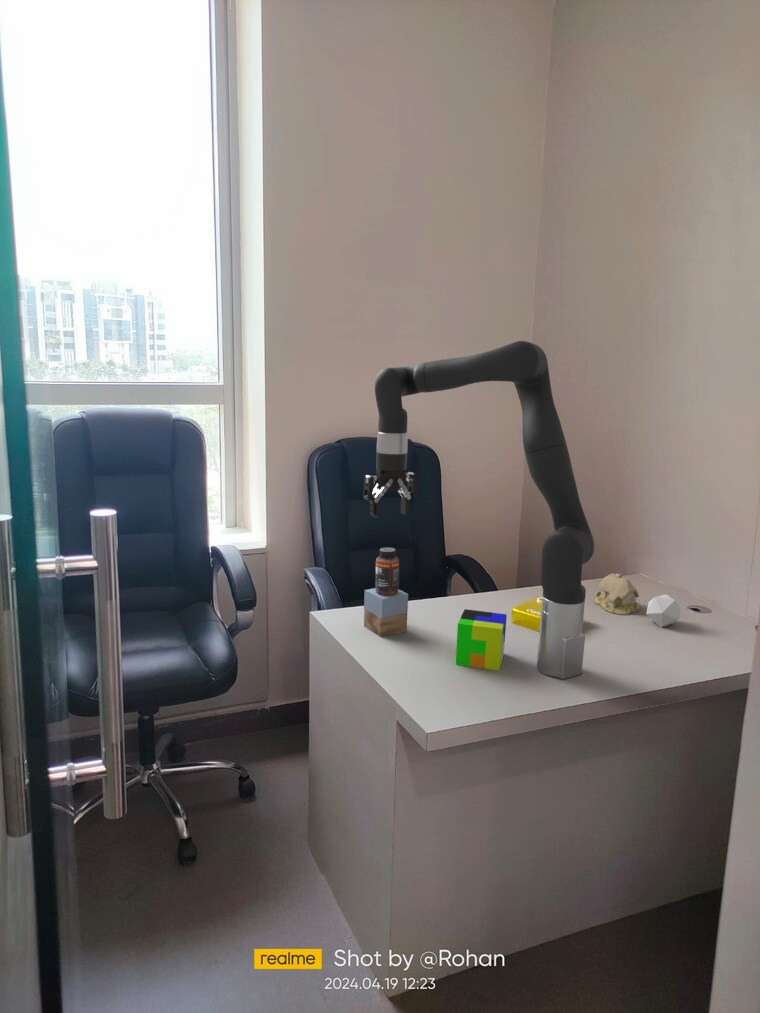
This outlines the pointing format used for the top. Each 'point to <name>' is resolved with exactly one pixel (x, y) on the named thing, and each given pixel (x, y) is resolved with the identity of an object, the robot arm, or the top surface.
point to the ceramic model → (617, 595)
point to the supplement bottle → (387, 572)
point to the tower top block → (385, 603)
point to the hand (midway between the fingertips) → (389, 515)
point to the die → (663, 610)
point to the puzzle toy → (481, 639)
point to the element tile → (528, 614)
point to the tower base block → (385, 623)
